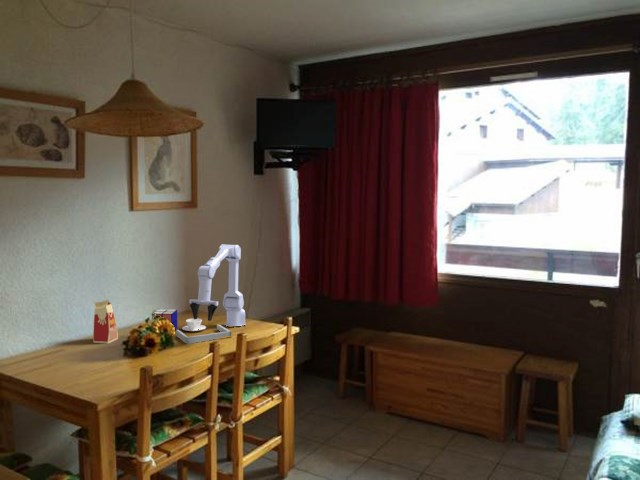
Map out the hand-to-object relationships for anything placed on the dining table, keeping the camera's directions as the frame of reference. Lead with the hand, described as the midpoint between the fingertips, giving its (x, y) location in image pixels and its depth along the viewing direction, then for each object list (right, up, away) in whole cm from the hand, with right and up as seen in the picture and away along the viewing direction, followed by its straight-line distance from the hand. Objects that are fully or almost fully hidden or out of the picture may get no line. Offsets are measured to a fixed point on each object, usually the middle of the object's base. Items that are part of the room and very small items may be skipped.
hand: (202, 319), depth 255 cm
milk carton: (-47, -10, +1) cm, 48 cm away
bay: (-2, -10, +10) cm, 14 cm away
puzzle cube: (-23, -9, +20) cm, 32 cm away
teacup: (-9, -9, +22) cm, 25 cm away
